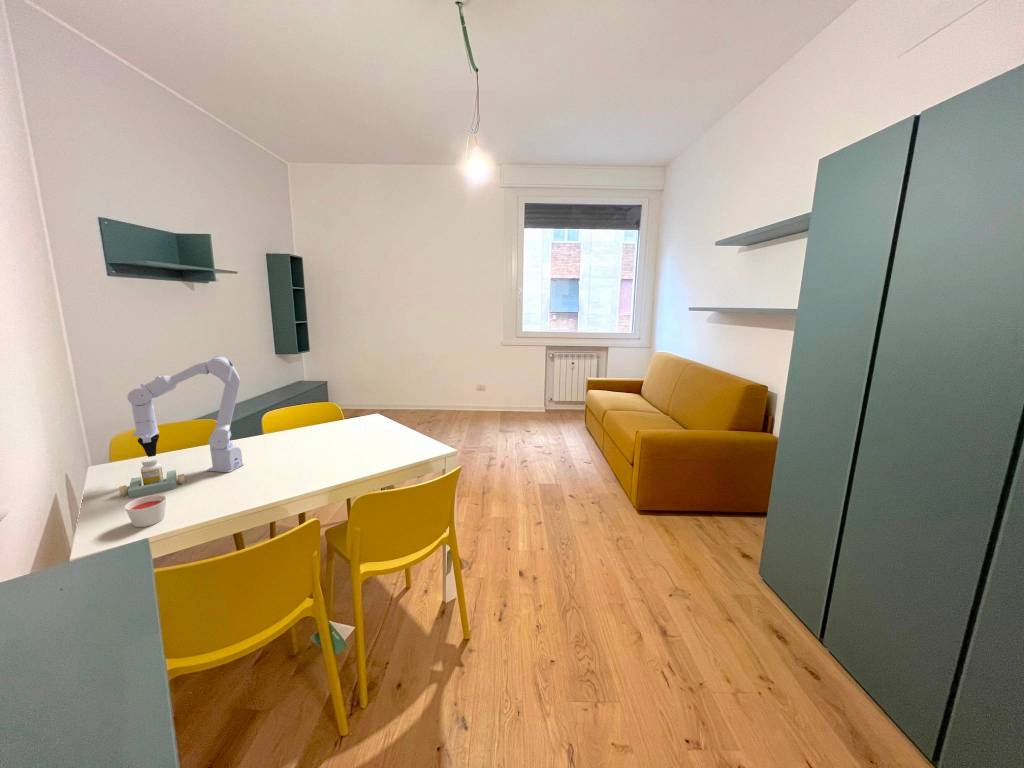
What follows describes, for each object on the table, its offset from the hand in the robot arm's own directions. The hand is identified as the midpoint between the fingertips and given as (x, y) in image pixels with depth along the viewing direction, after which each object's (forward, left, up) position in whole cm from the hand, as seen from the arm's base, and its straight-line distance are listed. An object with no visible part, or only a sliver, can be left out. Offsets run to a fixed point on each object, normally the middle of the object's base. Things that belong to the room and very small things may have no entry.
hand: (151, 455), depth 143 cm
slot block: (-6, +6, -9) cm, 12 cm away
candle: (-26, +26, -9) cm, 37 cm away
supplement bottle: (-5, +5, -9) cm, 11 cm away
